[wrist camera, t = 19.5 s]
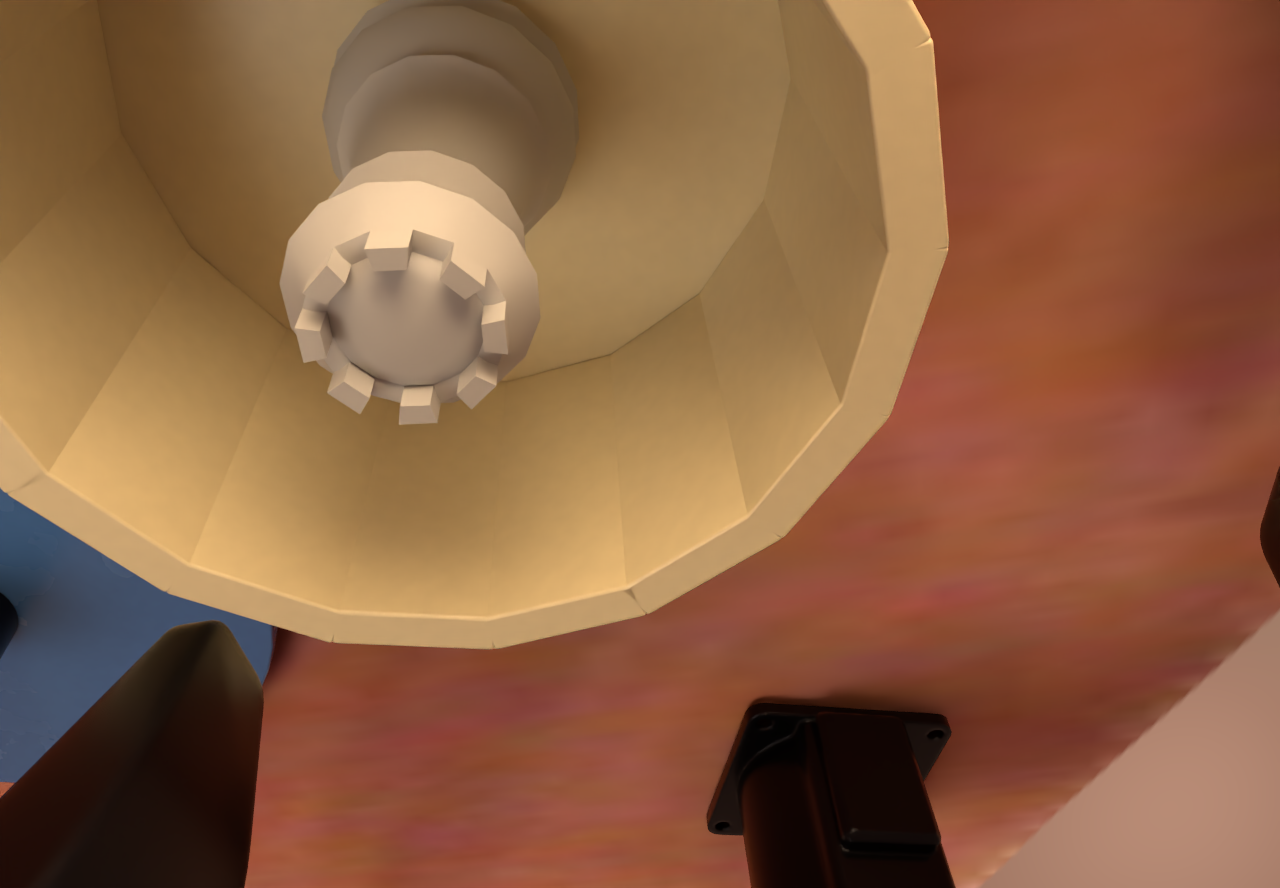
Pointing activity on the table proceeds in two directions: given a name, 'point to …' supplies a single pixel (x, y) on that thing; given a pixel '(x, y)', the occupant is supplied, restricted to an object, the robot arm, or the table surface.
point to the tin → (558, 354)
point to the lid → (78, 631)
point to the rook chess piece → (431, 204)
